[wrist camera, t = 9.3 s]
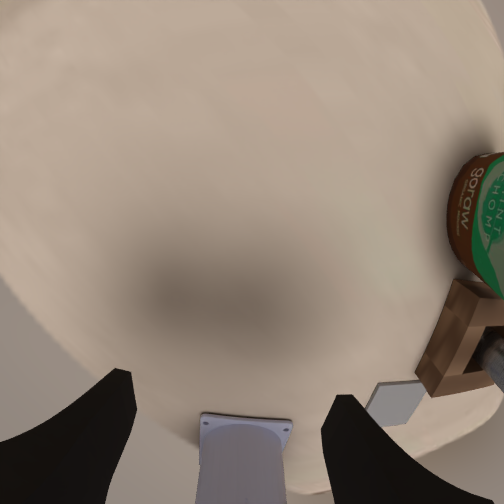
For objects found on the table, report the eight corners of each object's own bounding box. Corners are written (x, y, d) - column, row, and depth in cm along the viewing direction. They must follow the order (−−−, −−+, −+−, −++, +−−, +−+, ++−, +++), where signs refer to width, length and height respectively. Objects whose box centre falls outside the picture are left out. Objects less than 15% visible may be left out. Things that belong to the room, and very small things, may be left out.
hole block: (476, 365, 21) (493, 384, 18) (414, 372, 21) (431, 397, 18) (511, 286, 19) (534, 301, 15) (453, 278, 18) (479, 297, 15)
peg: (471, 343, 20) (523, 400, 12) (451, 344, 20) (505, 407, 12) (484, 315, 20) (543, 368, 11) (464, 314, 19) (527, 373, 11)
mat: (404, 421, 23) (406, 423, 23) (354, 426, 23) (355, 429, 23) (430, 378, 22) (432, 381, 21) (378, 383, 21) (379, 385, 21)
